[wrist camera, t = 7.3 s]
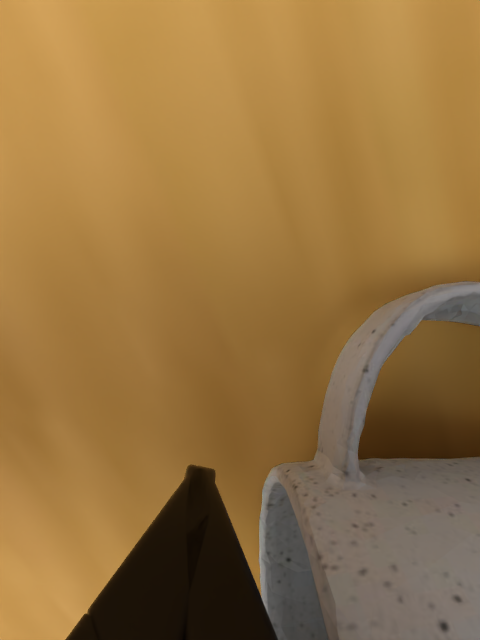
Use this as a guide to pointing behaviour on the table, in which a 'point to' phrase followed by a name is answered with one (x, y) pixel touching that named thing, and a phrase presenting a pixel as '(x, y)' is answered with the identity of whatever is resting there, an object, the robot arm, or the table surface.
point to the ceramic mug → (374, 511)
